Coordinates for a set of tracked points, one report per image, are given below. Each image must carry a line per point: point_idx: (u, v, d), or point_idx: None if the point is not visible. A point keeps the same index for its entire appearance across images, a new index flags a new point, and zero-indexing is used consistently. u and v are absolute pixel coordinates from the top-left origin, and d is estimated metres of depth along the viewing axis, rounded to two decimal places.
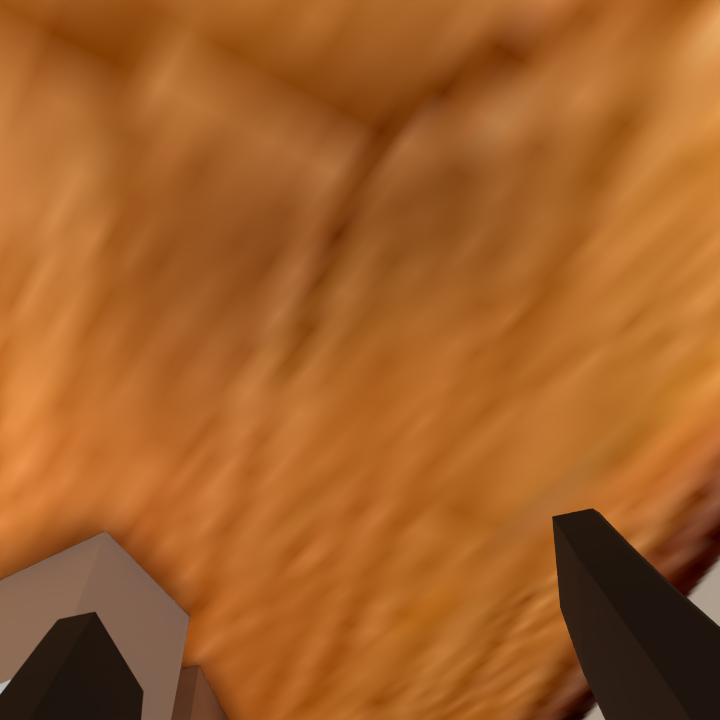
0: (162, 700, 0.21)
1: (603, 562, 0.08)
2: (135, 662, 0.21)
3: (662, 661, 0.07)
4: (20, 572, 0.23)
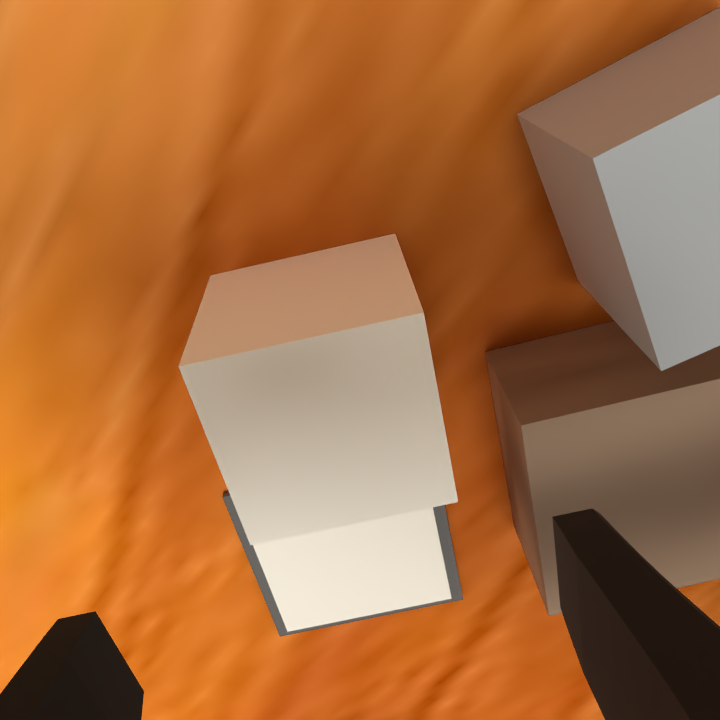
0: None
1: (603, 562, 0.08)
2: None
3: (662, 661, 0.07)
4: (575, 84, 0.16)
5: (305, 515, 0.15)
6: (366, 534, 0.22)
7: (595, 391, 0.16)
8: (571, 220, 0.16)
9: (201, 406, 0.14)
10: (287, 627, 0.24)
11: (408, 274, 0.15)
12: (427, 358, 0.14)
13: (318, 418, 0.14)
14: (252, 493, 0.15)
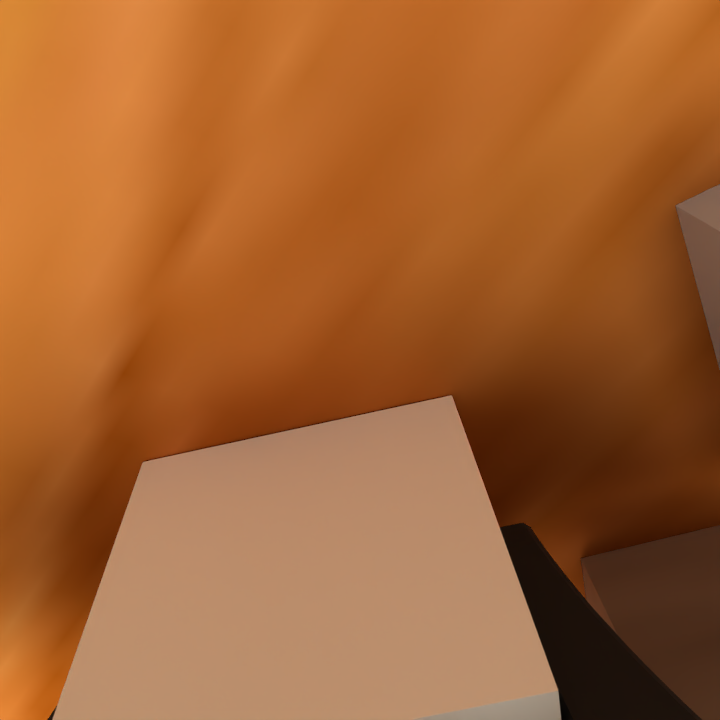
0: None
1: (523, 578, 0.08)
2: None
3: (564, 680, 0.07)
4: None
5: None
6: None
7: None
8: None
9: None
10: None
11: (497, 530, 0.08)
12: None
13: None
14: None
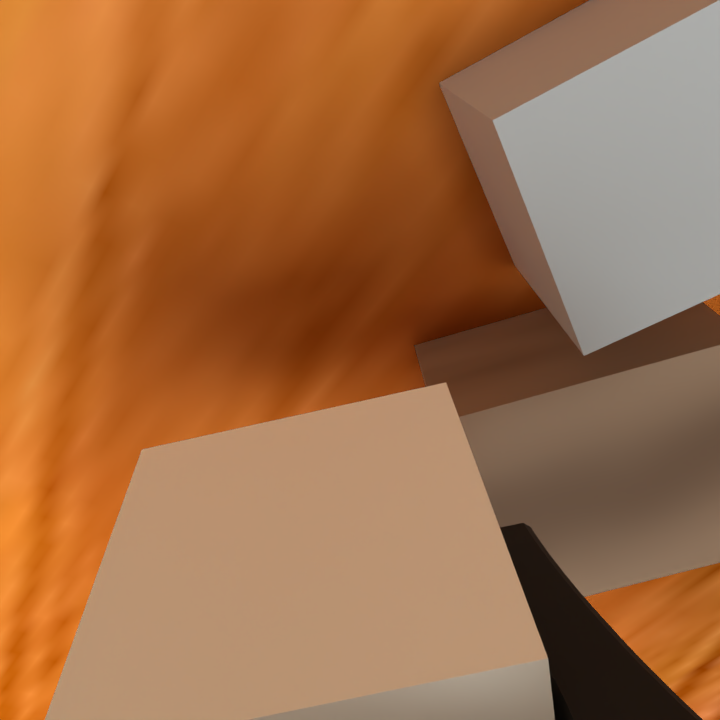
0: None
1: (524, 578, 0.08)
2: None
3: (565, 680, 0.07)
4: (499, 50, 0.15)
5: None
6: None
7: (518, 382, 0.15)
8: (495, 196, 0.15)
9: None
10: None
11: (490, 509, 0.08)
12: None
13: None
14: None
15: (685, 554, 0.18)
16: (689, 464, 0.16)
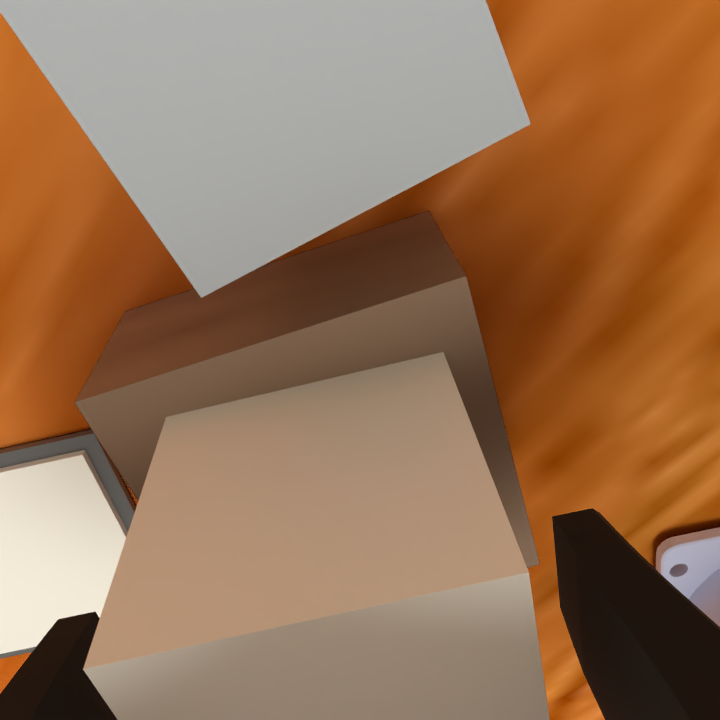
0: None
1: (603, 562, 0.08)
2: None
3: (662, 661, 0.07)
4: None
5: None
6: (31, 539, 0.17)
7: (191, 348, 0.12)
8: None
9: (130, 719, 0.08)
10: None
11: (481, 456, 0.09)
12: (529, 636, 0.08)
13: None
14: None
15: None
16: None
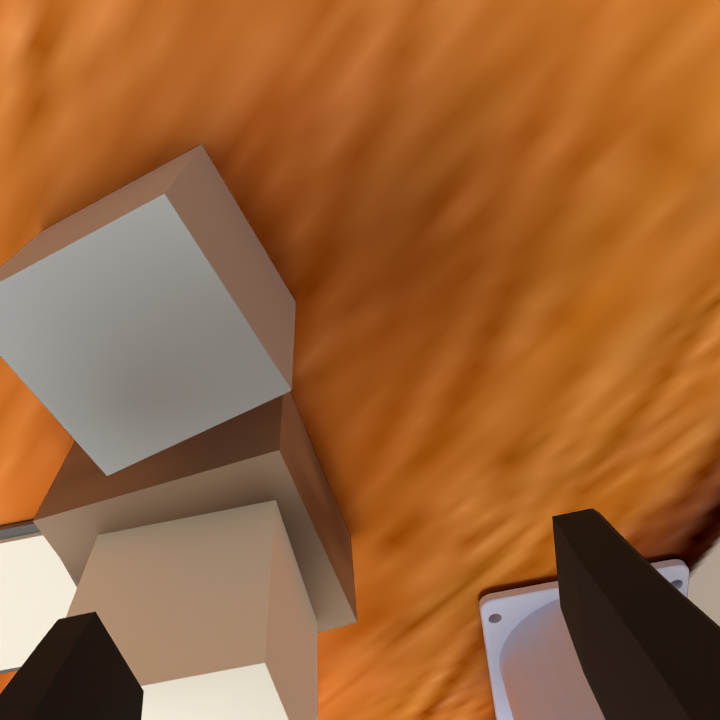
0: (281, 344, 0.16)
1: (603, 562, 0.08)
2: (249, 284, 0.15)
3: (662, 661, 0.07)
4: (85, 207, 0.17)
5: None
6: (9, 591, 0.23)
7: (110, 484, 0.18)
8: None
9: None
10: None
11: (268, 585, 0.15)
12: (273, 694, 0.14)
13: None
14: None
15: None
16: None
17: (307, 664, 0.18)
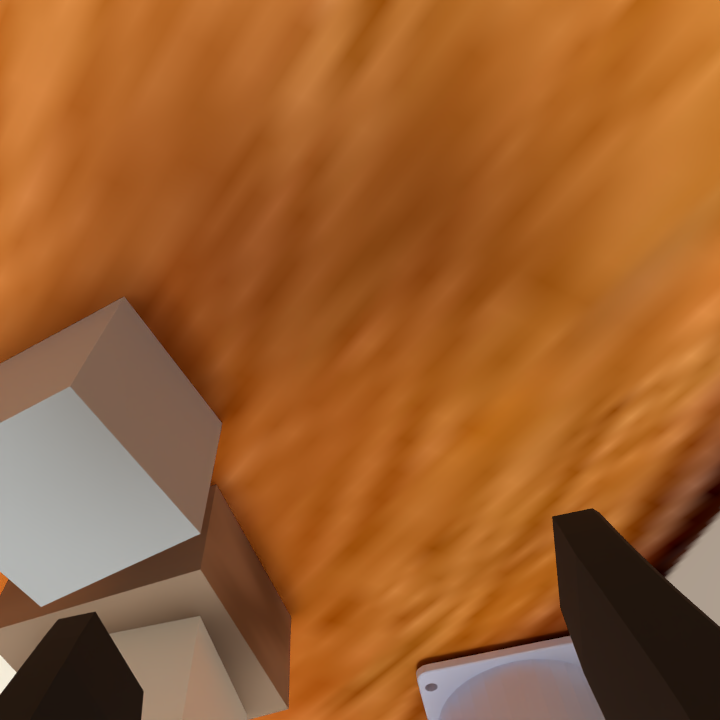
0: (195, 485, 0.18)
1: (603, 562, 0.08)
2: (163, 435, 0.17)
3: (662, 661, 0.07)
4: (22, 352, 0.19)
5: None
6: None
7: None
8: None
9: None
10: None
11: (182, 709, 0.17)
12: None
13: None
14: None
15: None
16: None
17: None
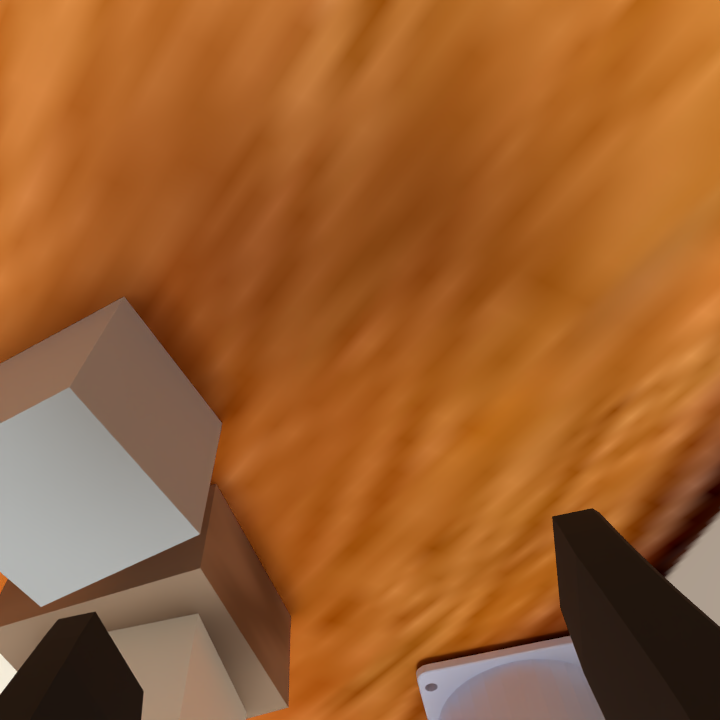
0: (194, 486, 0.18)
1: (603, 562, 0.08)
2: (162, 435, 0.17)
3: (662, 661, 0.07)
4: (22, 352, 0.19)
5: None
6: None
7: None
8: None
9: None
10: None
11: (180, 706, 0.17)
12: None
13: None
14: None
15: None
16: None
17: None
